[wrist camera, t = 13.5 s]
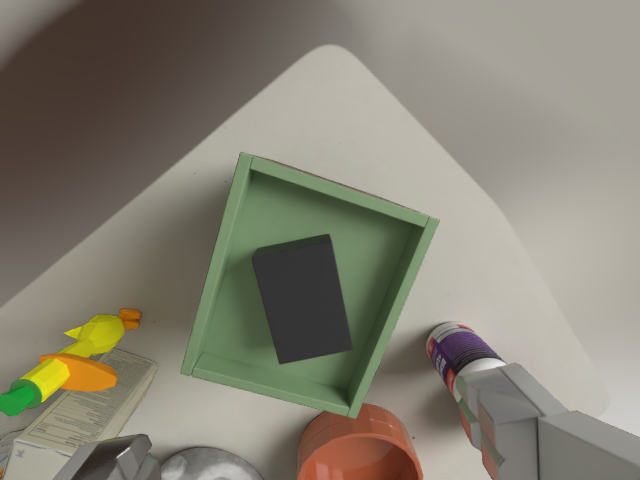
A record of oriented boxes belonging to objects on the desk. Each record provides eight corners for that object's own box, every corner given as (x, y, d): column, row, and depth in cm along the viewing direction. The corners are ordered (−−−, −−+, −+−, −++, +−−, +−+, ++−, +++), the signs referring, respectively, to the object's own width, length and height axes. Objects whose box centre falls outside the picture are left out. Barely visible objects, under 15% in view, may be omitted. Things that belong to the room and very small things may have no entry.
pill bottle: (415, 336, 32) (460, 406, 23) (461, 311, 32) (526, 371, 22) (438, 374, 33) (490, 455, 24) (482, 350, 33) (553, 423, 24)
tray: (273, 160, 28) (240, 151, 14) (377, 196, 29) (440, 220, 15) (237, 281, 30) (179, 374, 17) (335, 310, 31) (356, 419, 18)
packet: (257, 247, 17) (250, 258, 15) (329, 233, 17) (332, 241, 15) (282, 344, 18) (279, 365, 16) (348, 331, 18) (353, 350, 16)
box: (99, 379, 32) (-8, 485, 21) (111, 345, 31) (7, 437, 20) (148, 396, 33) (69, 508, 22) (161, 363, 32) (87, 462, 21)
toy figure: (168, 309, 31) (83, 396, 19) (163, 341, 31) (77, 443, 20) (99, 294, 30) (-35, 374, 18) (95, 326, 31) (-36, 423, 19)
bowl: (318, 390, 33) (320, 419, 29) (427, 419, 35) (442, 450, 31) (283, 482, 36) (280, 520, 32) (386, 506, 37) (395, 545, 33)
